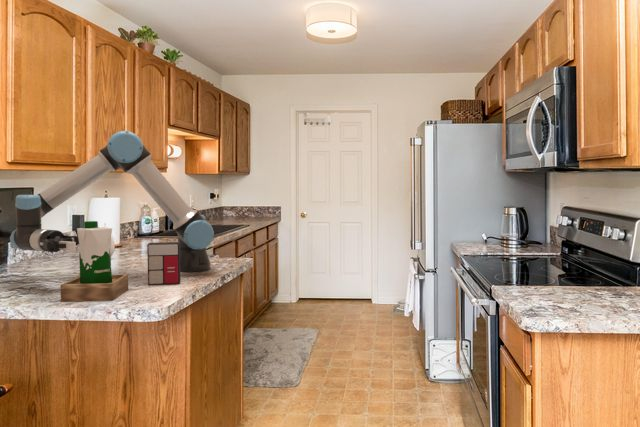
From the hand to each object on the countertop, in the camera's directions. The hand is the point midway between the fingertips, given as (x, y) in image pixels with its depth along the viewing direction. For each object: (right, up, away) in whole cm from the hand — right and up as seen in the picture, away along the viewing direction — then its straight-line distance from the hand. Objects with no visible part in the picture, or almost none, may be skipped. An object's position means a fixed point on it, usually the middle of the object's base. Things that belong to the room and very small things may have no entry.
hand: (93, 243), depth 151 cm
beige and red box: (+17, -16, +19) cm, 30 cm away
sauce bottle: (-30, -13, +74) cm, 81 cm away
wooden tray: (+1, -17, +1) cm, 17 cm away
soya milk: (+1, -13, +1) cm, 13 cm away
